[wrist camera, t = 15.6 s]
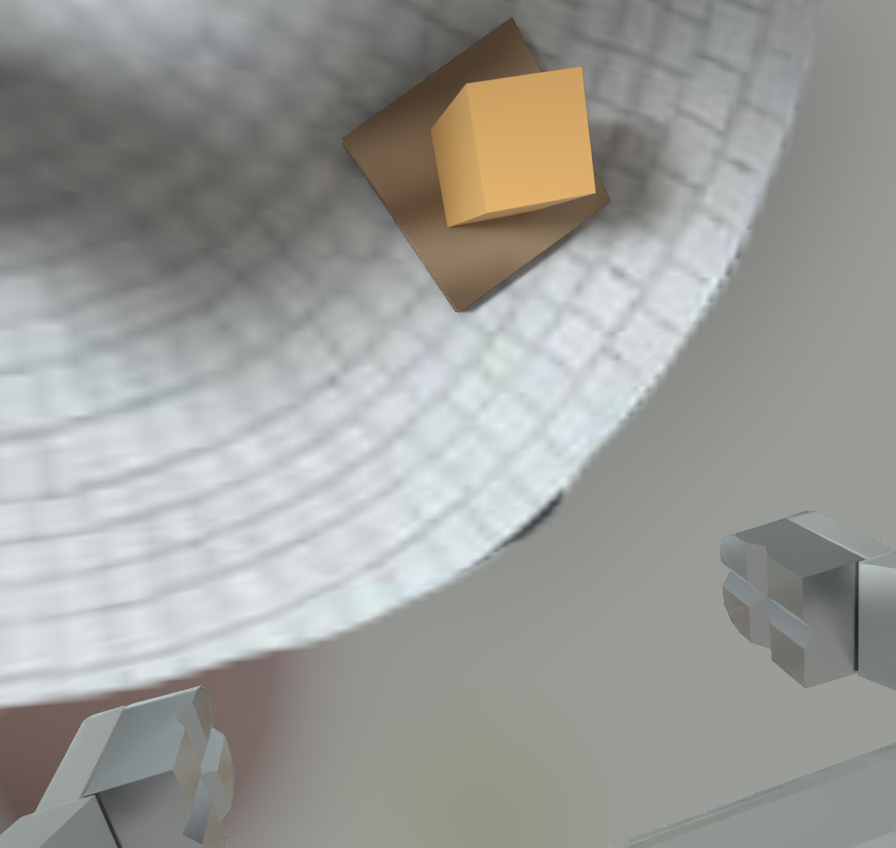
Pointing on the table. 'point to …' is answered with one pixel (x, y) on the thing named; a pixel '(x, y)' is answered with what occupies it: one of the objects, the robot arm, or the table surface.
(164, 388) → the table surface
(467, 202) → the tall orange pillar
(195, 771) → the robot arm
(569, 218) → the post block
